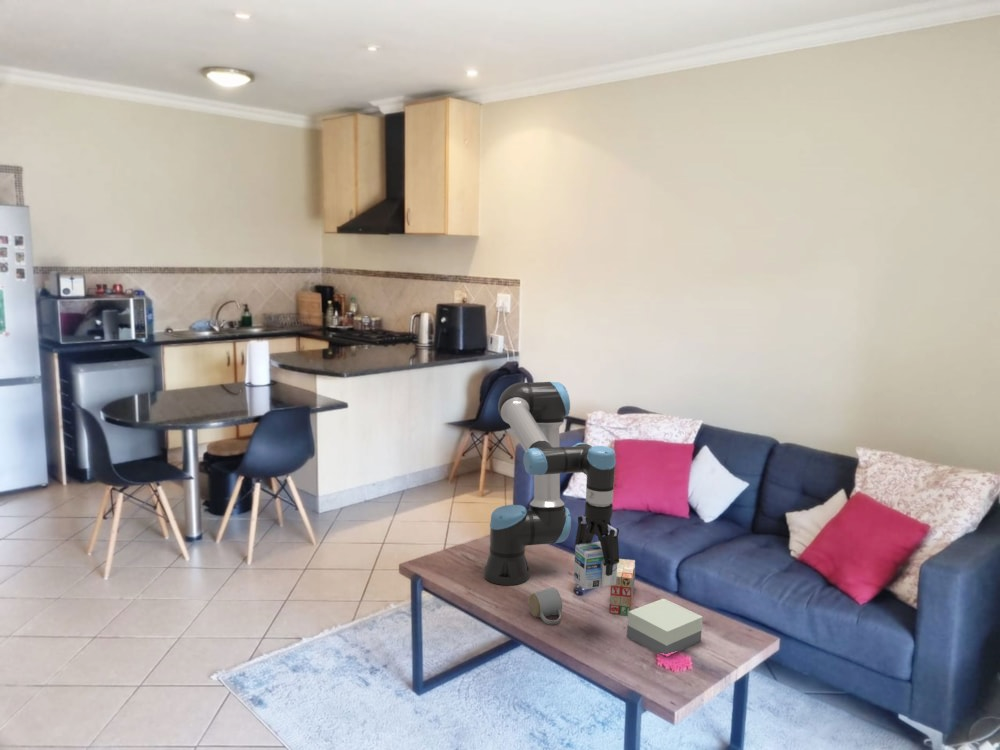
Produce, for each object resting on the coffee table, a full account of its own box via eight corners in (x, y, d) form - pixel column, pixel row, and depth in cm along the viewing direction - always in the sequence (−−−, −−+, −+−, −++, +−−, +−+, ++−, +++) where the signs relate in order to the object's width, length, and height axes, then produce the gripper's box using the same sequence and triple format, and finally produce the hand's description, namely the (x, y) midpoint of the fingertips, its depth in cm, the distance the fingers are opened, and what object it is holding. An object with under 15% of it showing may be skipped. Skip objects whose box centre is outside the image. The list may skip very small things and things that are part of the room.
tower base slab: (626, 638, 211) (627, 625, 210) (660, 623, 220) (661, 611, 219) (666, 659, 200) (667, 645, 199) (700, 643, 209) (701, 629, 209)
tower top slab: (627, 625, 210) (628, 611, 210) (662, 611, 219) (663, 598, 219) (666, 645, 199) (667, 631, 199) (701, 630, 208) (702, 616, 208)
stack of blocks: (615, 585, 245) (616, 549, 243) (634, 587, 244) (636, 551, 242) (609, 614, 224) (611, 575, 223) (630, 616, 223) (632, 577, 221)
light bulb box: (584, 590, 206) (586, 553, 204) (572, 580, 212) (574, 544, 210) (617, 584, 210) (619, 548, 209) (604, 574, 217) (606, 539, 215)
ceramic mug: (526, 611, 224) (527, 587, 223) (550, 607, 228) (551, 583, 226) (543, 628, 215) (544, 602, 214) (567, 622, 218) (569, 598, 217)
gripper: (563, 495, 213) (560, 570, 217) (617, 515, 197) (612, 596, 201) (582, 490, 218) (578, 564, 221) (636, 510, 202) (631, 589, 206)
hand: (595, 579), depth 211 cm, fingers closed on light bulb box, 8 cm apart
